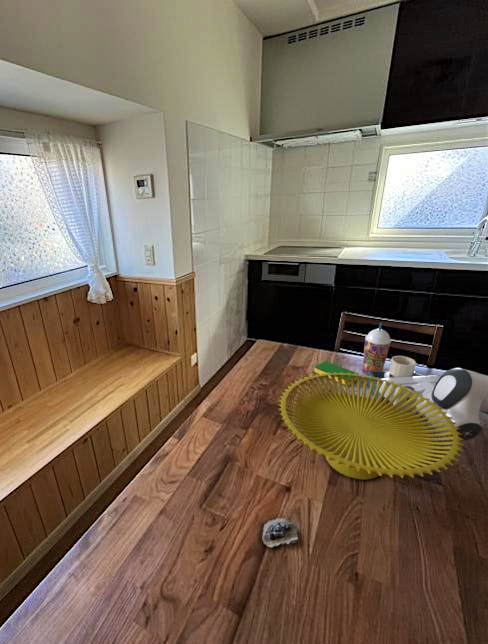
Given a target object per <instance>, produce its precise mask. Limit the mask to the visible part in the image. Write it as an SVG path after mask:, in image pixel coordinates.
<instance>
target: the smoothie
mask: <svg viewBox="0 0 488 644" xmlns="http://www.w3.org/2000/svg"><path fill="white" fill-rule="evenodd" d="M382 325H383V322H379V326H378V328H375V329H372V330H371V331H369V332H368V334H367V335H365V337H364V347H363V358H362V368H363V371H364V372H365V373H366V374H368V370H375V371H384V367H385V364H386V360H387V357H388V353H389V349H390V346H391V343H392V338H391V337H390V334H389V333H388V331H386V330H384V329H382Z"/></svg>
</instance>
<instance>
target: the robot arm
mask: <svg viewBox="0 0 488 644" xmlns="http://www.w3.org/2000/svg"><path fill="white" fill-rule="evenodd" d="M384 377H385V378H380V379H382V380H385V379H386V380H387V381H389V382H394V383H395V384H397V385H400V384H401V386H403V387H406V388H407V387H409V388H408V389H409V390H411V391H416V393H417V394H421V395H423V396H422V397H424V398H429V399H430V400H429V401H430V402H433V403H436V404H435V405H436V406H437V407H442V409H441V410H442V411H444V412H447V414H446V415H447V416H449V417H452V419H450V420H451V421H452V422H455V423H456V424H454V426H455V427H457V428H460V429H459V430H456V431H457V432H459V433H461V434H462V435H458V437H460V438H461V439H464V440H462V441H461V442H464V441H470V440H472V439H474V438H476V437H477V436H479V435H480V434H481V433H482V430H483V426H482V424H481V419H480V413H483V414H485V415H488V375H487V374H482V373H479V372H476V371H474V370H469V369H466V368H461V367H454V368H450V369H448V370H446V371H445V372H444V373H442V374H441V375H438V374H434V375H425V374H422V373H418V372H417V371H415V370H414V373H413V377H397V378H392V374H391V373H385V374H384ZM385 383H386V382H383V383H382V385H381V388H380V390H379V392H380V393H382V391H383V388H384V386H385ZM377 384H378V382H377ZM392 386H393V384H390V386H389V387H388V389H387V391H386V392H385V394H384V397H385V398H386V396H387V395H388V393H389V391H390V390H391V388H392ZM399 389H400V387H397V388H396V390H395V391H394V392H393V394H392V395H391V397H390V398H389V401H391V400H392V398H393V397H394V396H395V395H396V393H397V392H398V390H399ZM406 392H407V390H404V391H403V392H402V393H401V394H400V395H399V396H398V398H397V399H396V400H395V401H394V403H393V405H394V404H396V403H397V402H398V401H399V400H400V399H401V398H402V396H403V395H404V394H405V393H406ZM413 395H414V394H413V393H411V394H410V395H409V396H408V397H407V398H406V399H404V400H403V401H402V402H401V403H400V405H399V406H398V407H397V408H399V407H400V406H402V405H403V404H404V403H405V402H407V401H408V400H409V399H410V398H411V397H412V396H413ZM419 399H420V397H417V398H416V399H414V400H413V401H412V402H410V403H409V404H408V405H407V406H406V407H405V408H403V409H402V410H405V409H407V408H408V407H410V406H411V405H412V404H414V403H415V402H416V401H418V400H419ZM426 402H427V401H423V402H421V403H420V404H418V405H417V406H415V407H414V408H412V409H411V410H410V411H411V412H412V411H414V410H416V409H417V408H419V407H420V406H422V405H423V404H425V403H426ZM430 407H432V405H429V406H427V407H425V408H423V409H422V410H420V411H418V412H417V413H418V414H420V413H421V412H423V411H425V410H427V409H429V408H430ZM397 408H396V409H397ZM437 411H438V410H437V409H436V410H433V411H431V412H429V413H426V414H424V415H422V416H423V417H426V416H428V415H431V414H433V413H435V412H437ZM440 416H442V415H441V414H439V415H436V416H434V417H431V418H429V419H426V420H427V421H430V420H433V419H435V418H438V417H440ZM444 421H446V419H443V420H439V421H436V422H433V423H430V425H435V424H438V423H441V422H444ZM447 426H449V424H446V425H442V426H437V427H434V428H435V429H439V428H443V427H447ZM450 431H451V429H449V430H443V431H439V432H440V433H445V432H450ZM451 436H453V435H452V434H451V435H444V437H451Z"/></svg>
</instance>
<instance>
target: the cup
mask: <svg viewBox="0 0 488 644" xmlns="http://www.w3.org/2000/svg"><path fill="white" fill-rule="evenodd" d="M416 365H417V361H416V360H415V359H413V358H411V357H408V356H406V355H405V356H404V355H394V356H392V357H391V360H390V365H389V369H388V371H389V373H391V374H392V378H397V377H413V373H414V371H415V369H416Z"/></svg>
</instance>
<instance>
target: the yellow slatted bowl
mask: <svg viewBox="0 0 488 644" xmlns="http://www.w3.org/2000/svg"><path fill="white" fill-rule="evenodd" d="M356 373H357V372H356ZM356 373H355V374H350V373H349V372H348V374H346V373H342V372H341V373H335V372H334V373H329V372H328V374H323V373H322V374H318V373H315V374H314V375H309V376H304V378H299V380H294V383H293V382H290V385H287V386H286V387H287V388H284V389H283V391H285V392H281V394H282V395H281V396H279V398H281V399H278V402H279V404H278V407H280V408H277V410H278V411H279V412H281V413H279V415H280V416H282V418H280V420H281V421H283V422H284V423H283V425H284V426H287V427H288V428H287V429H286V430H287V431H290V432H292V434H291V435H292V436H294V437H296V438H297V439H296V440H297V441H298V442H302V443H304V444H303V446H305V447H309V448H310V451H311V452H317V453H318V456H319V457H320V456H321V457H325V459H326V461H327V463H328V464H329V465H330V466H331V467H332V468H333V469H334V470H335V471H336V472H338V473H339V474H340V475H341V474H342V475H344V476H345V477H348V478H351V479H354V480H363V481H364V480H365V481H367V480H372V479H375V478H377V477H382V476H383V475H387V476H389V478H394V476H398V477H400V478H402V479H403V478H405V477H404V476H407V477H410V478H415V475H417V476H420V477H424V474H427V475H431V476H432V475H433V472H437V473H441V470H440V469H444V470H449V468H448V467H447V466H446V465H449V466H453V465H454V464H453V463H452V462H453V461H454V462H458V461H459V460H458V458H456V457H462V455H461V454H460V453H459V452H464V449H462V448H460V447H462V446H464V444H463V443H462V442H463V441H462V440H464V439H461V438H460V437H458V435H462V434H461V433H459V432H457V431H456V430H459V429H460V428H457V427H455V426H454V424H456V423H455V422H452V421H451V420H450V419H452V417H449V416H447V415H446V414H447V412H444V411H442V410H441V409H442V407H437V406H436V405H435V404H436V403H433V402H430V401H429V400H430V399H429V398H424V397H422V396H423V395H421V394H417V393H416V391H411V390H409V389H408V388H409V387H407V388H406V387H403V386H401V384H400V385H397V384H395V383H394V382H389V381H387V380H386V379H385V380H382V379H379V378H378V377H377V378H374V377H372V376H371V375H370V376H367V375H365V374H364V373H362V374H359V373H358V374H359V375H358V374H356ZM328 375H330V376H331V378H332V379H331V380H330V378H329V377H328ZM335 375H337V378H338V381H339V382H338V384H337V381H336V380H335ZM341 375H343V376H344V381H345V384H342V379H341ZM348 375H350V379H351V384H350V385H349V386H348ZM355 376H357V380H356V383H357V384H356V391H355V382H354V378H355ZM323 377H324V378H325V380H326V382H325V380H324V378H323ZM362 378H363V385H362ZM369 378H371V383H370V387H369V388H368V384H367V383H368V380H369ZM312 379H313V380H312ZM319 380H320V381H319ZM376 380H378V384H377V387H376V390H375V393H374V394H373V392H372V390H373V387H374V384H375V381H376ZM331 381H332V382H331ZM308 382H309V383H308ZM383 382H386V383H385V386H384V388H383V391H382V393H381V395H380V396H379V398H378V400H377V399H376V398H377V395H378V392H379V390H380V388H381V385H382V383H383ZM326 383H327V385H328V386H327V385H326ZM332 383H333V385H332ZM310 384H311V385H310ZM390 384H393V386H392V388H391V390H390V391H389V393H388V395H387V396H386V398H385V399H384V401H383V402H381V401H382V398H383V396H384V394H385V392H386V391H387V389H388V387H389V386H390ZM316 385H317V386H316ZM338 385H339V387H338ZM361 385H362V392H361ZM311 386H312V387H313V388H312V387H311ZM344 386H345V389H344ZM349 387H350V388H349ZM397 387H400V389H399V390H398V392H397V393H396V395H395V396H394V397H393V398H392V400H391V401H390V402H389V403H388V404H387V405H386V403H387V401H388V400H389V398H390V397H391V395H392V394H393V392H394V391H395V390H396V388H397ZM339 388H340V389H339ZM367 388H368V392H367ZM308 389H309V390H308ZM334 389H335V390H334ZM404 390H407V392H406V393H405V394H404V395H403V396H402V398H401V399H400V400H399V401H398V402H397V403H396V404H394V405H393V406H392V404H393V403H394V401H395V400H396V399H397V398H398V396H399V395H400V394H401V393H402V392H403V391H404ZM301 393H302V394H301ZM411 393H413V394H414V395H413V396H412V397H411V398H410V399H409V400H408V401H407V402H405V403H404V404H403V405H402V406H400V407H399V408H397V407H398V406H399V405H400V403H401V402H402V401H403V400H404V399H406V398H407V397H408V396H409V395H410V394H411ZM290 394H291V395H290ZM372 394H373V396H372ZM417 397H420V399H419V400H418V401H416V402H415V403H414V404H412V405H411V406H410V407H408V408H407V409H403V408H405V407H406V406H407V405H408V404H409V403H410V402H412V401H413V400H414V399H416V398H417ZM423 401H427V402H426V403H425V404H423V405H422V406H420V407H419V408H417V409H416V410H414V411H412V410H411V409H412V408H414V407H415V406H417V405H418V404H420V403H421V402H423ZM291 404H292V405H291ZM429 405H432V407H430V408H429V409H427V410H425V411H423V412H421V413H419V412H418V411H420V410H422V409H423V408H425V407H427V406H429ZM436 409H437V410H438V411H437V412H435V413H433V414H431V415H428V416H426V417H425V416H423V415H424V414H426V413H429V412H431V411H433V410H436ZM416 413H417V414H416ZM439 414H441V415H442V416H440V417H438V418H435V419H433V420H430V421H428V420H427V419H429V418H431V417H434V416H436V415H439ZM422 416H423V417H422ZM420 417H421V418H420ZM443 419H446V421H444V422H441V423H438V424H435V425H432V424H431V423H433V422H436V421H439V420H443ZM426 420H427V421H426ZM446 424H449V426H447V427H443V428H439V429H436V428H435V427H437V426H442V425H446ZM434 428H435V429H434ZM449 429H451V431H450V432H445V433H441V432H440V431H443V430H449ZM437 432H440V433H437ZM451 434H452V435H453V436H451V437H447V436H445V435H451ZM441 436H443V437H441ZM451 440H452V441H451ZM437 441H438V442H437ZM442 441H443V442H442ZM443 445H444V446H443ZM445 445H446V446H445ZM447 445H448V446H447ZM449 445H450V446H449ZM432 471H433V472H432Z"/></svg>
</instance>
